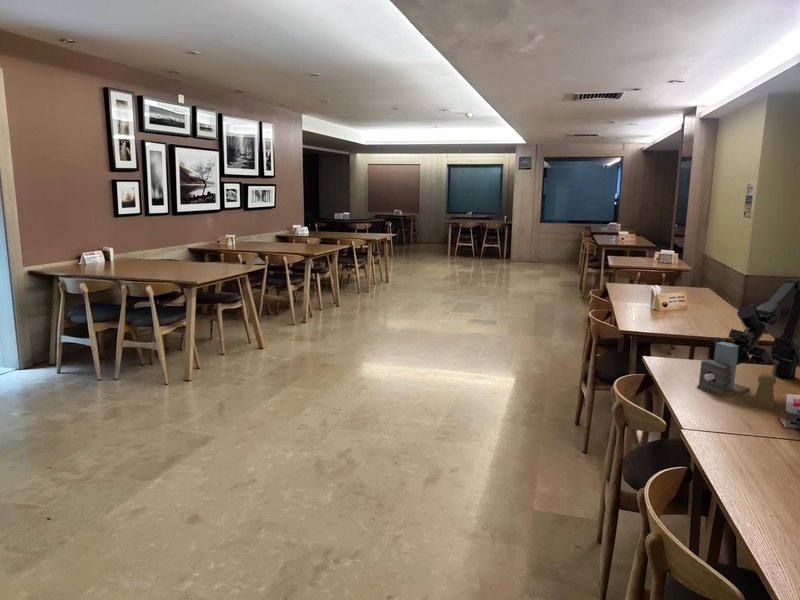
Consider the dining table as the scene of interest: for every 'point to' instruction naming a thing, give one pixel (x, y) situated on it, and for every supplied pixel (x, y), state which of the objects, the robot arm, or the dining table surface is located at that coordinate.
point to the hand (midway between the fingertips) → (728, 367)
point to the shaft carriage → (725, 359)
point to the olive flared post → (765, 391)
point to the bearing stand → (718, 379)
